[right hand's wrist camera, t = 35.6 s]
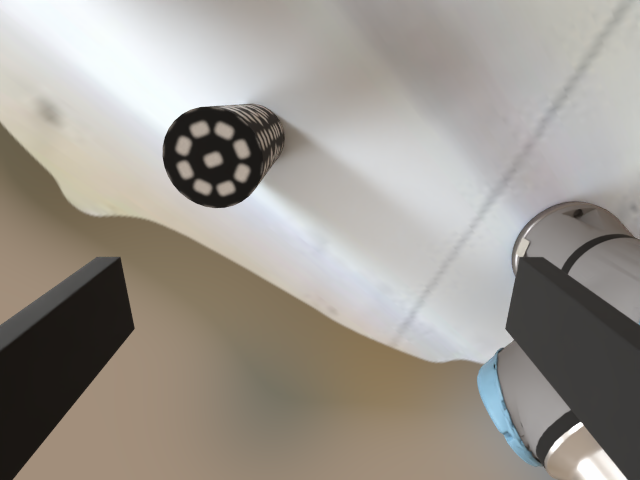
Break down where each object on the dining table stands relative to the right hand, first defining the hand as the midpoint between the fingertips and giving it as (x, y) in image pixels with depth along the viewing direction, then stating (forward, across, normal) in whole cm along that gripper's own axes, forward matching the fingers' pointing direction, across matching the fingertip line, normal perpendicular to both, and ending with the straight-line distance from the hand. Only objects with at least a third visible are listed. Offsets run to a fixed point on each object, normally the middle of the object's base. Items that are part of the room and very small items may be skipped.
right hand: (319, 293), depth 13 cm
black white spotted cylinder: (+30, +9, -1) cm, 32 cm away
